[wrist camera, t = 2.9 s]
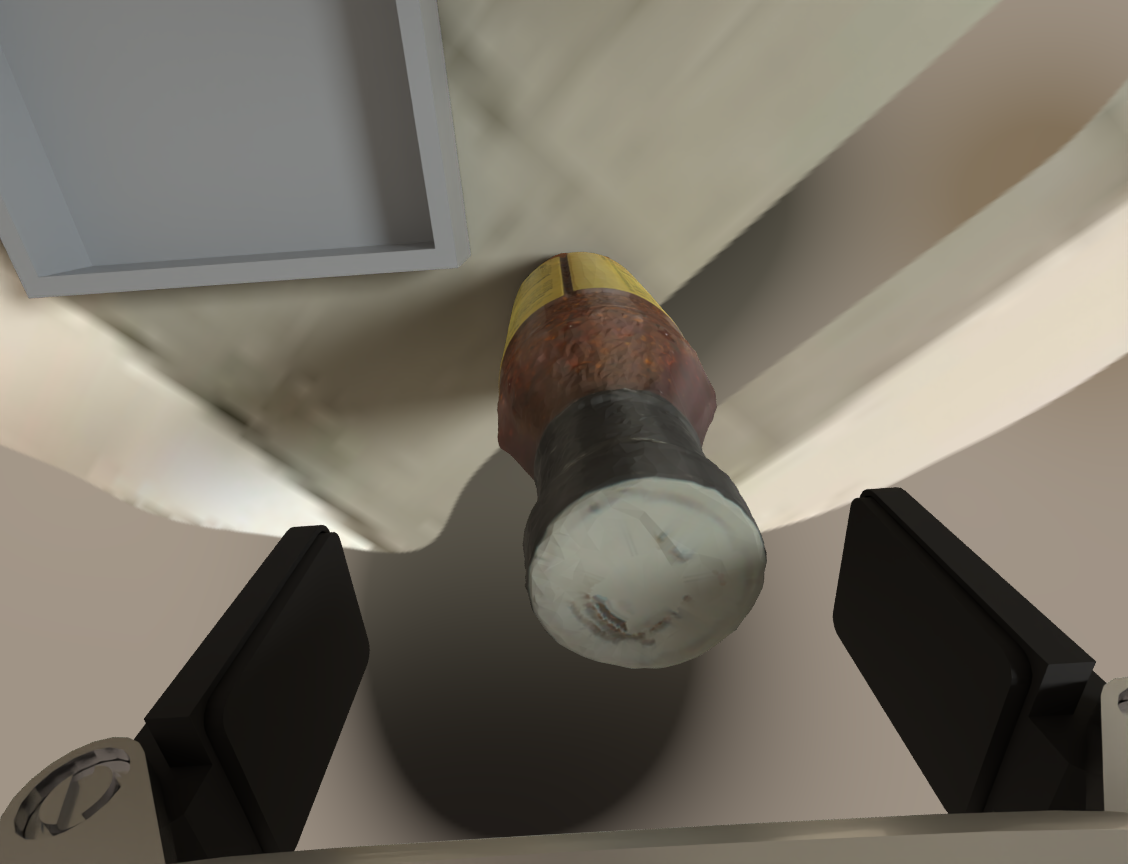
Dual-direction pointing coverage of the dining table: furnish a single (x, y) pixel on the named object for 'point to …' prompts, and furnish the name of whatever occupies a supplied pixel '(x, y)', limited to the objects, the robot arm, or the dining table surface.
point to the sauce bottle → (621, 472)
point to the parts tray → (224, 142)
